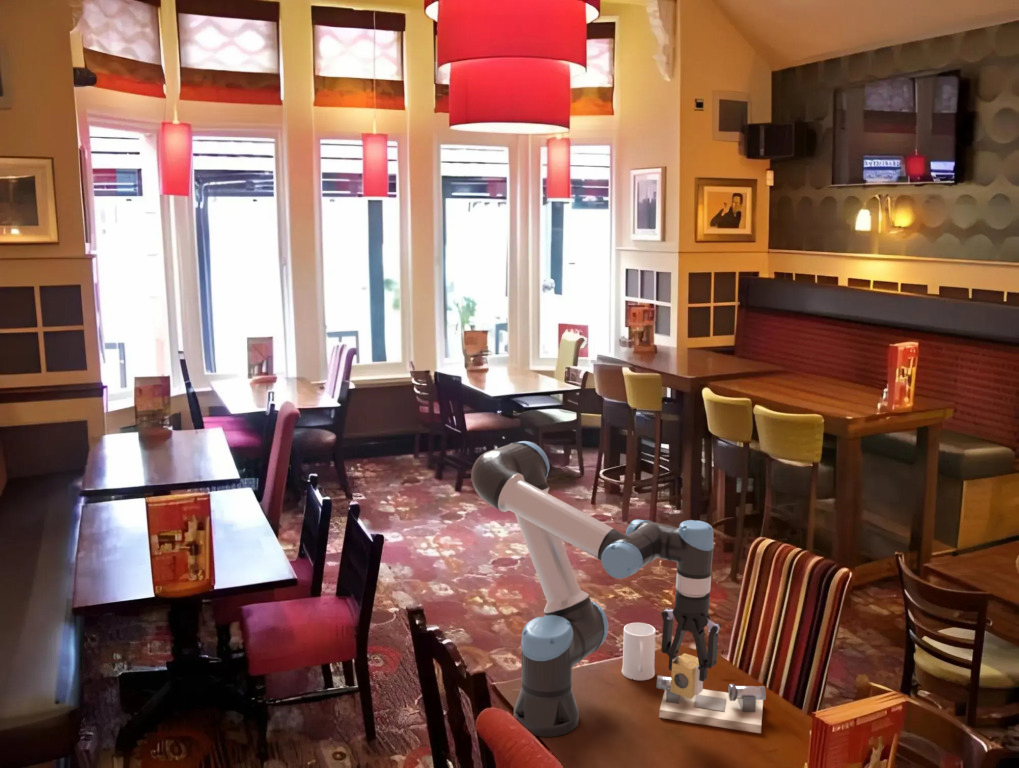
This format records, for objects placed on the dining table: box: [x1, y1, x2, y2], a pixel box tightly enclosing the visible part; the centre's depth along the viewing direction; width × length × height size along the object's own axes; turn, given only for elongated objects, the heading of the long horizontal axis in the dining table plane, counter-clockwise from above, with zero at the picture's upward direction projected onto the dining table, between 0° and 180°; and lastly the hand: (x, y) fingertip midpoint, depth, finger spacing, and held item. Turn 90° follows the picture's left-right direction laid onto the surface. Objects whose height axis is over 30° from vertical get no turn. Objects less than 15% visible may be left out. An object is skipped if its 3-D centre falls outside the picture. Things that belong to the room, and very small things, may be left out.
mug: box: [621, 622, 656, 681], centre depth 235 cm, size 12×8×12 cm
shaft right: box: [727, 683, 767, 712], centre depth 217 cm, size 8×5×5 cm, turn 88°
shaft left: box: [656, 675, 681, 704], centre depth 220 cm, size 8×5×5 cm, turn 73°
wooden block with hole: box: [670, 652, 699, 699], centre depth 207 cm, size 6×5×7 cm
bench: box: [658, 688, 764, 734], centre depth 218 cm, size 23×13×2 cm, turn 73°
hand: (686, 688), depth 208 cm, fingers closed on wooden block with hole, 5 cm apart
